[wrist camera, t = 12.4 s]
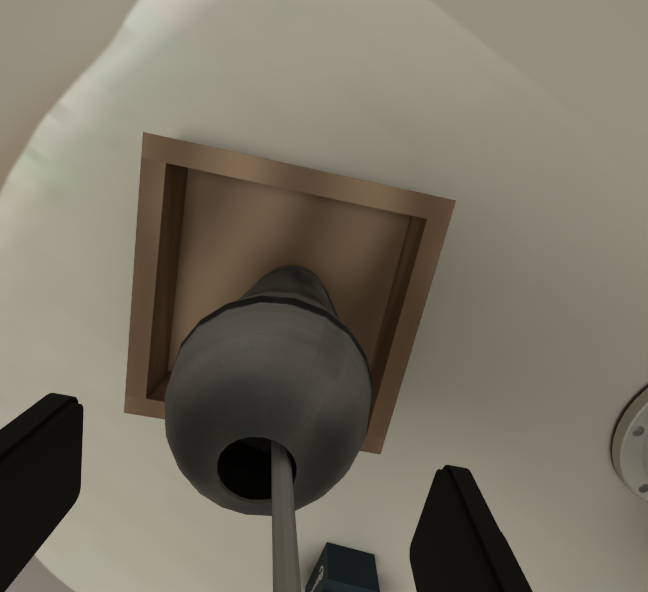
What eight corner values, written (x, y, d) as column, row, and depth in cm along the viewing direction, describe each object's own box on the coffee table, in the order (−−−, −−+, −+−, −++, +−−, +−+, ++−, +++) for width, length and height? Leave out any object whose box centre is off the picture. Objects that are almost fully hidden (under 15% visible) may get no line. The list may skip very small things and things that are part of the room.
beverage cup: (227, 247, 24) (-139, 521, 5) (344, 238, 24) (464, 476, 5) (243, 353, 26) (36, 846, 7) (350, 345, 26) (450, 815, 7)
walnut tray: (430, 197, 24) (455, 200, 20) (370, 412, 29) (380, 454, 24) (175, 141, 23) (143, 132, 19) (154, 376, 27) (124, 412, 23)
